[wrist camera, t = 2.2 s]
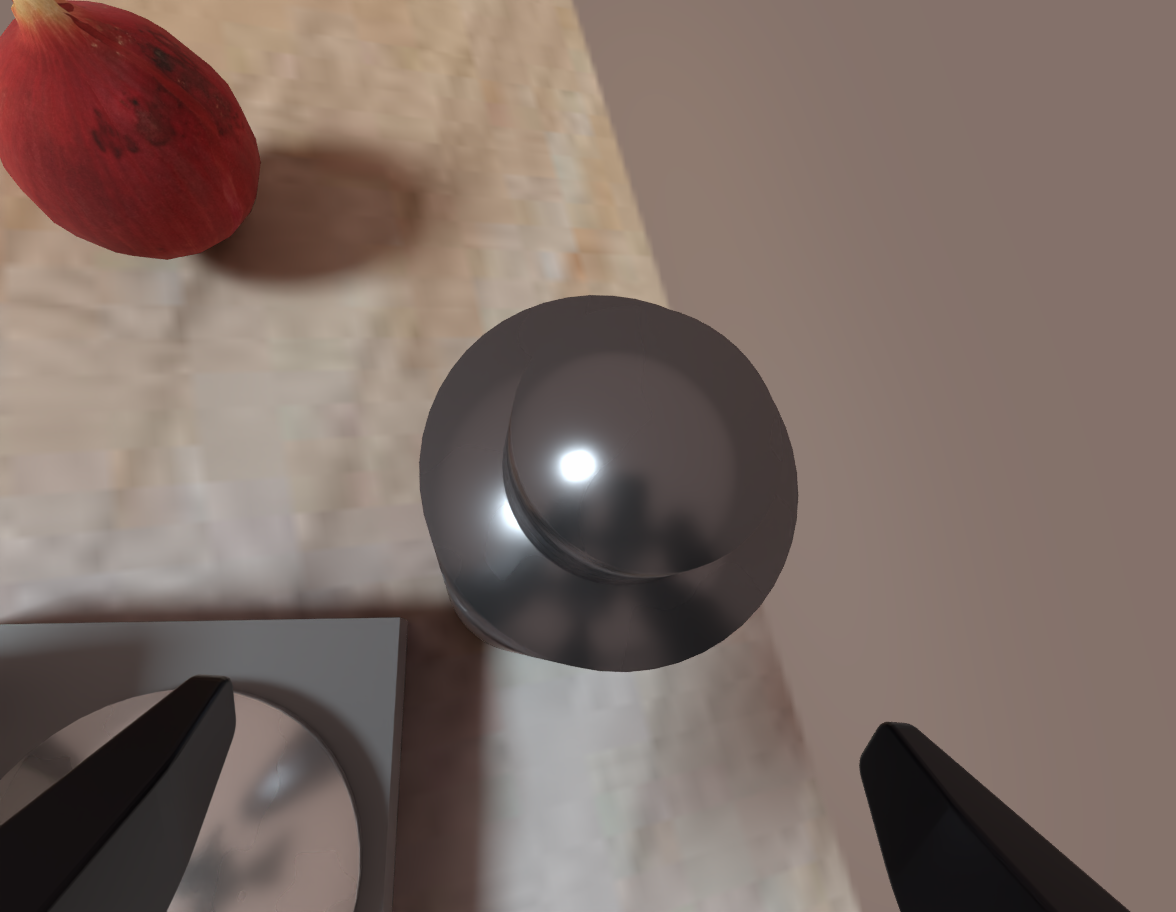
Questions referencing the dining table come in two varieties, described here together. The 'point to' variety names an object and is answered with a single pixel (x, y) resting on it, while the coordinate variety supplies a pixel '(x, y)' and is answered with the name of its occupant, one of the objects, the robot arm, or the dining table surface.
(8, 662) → the scale
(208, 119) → the onion
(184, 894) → the scale pan
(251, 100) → the dining table surface
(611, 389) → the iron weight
